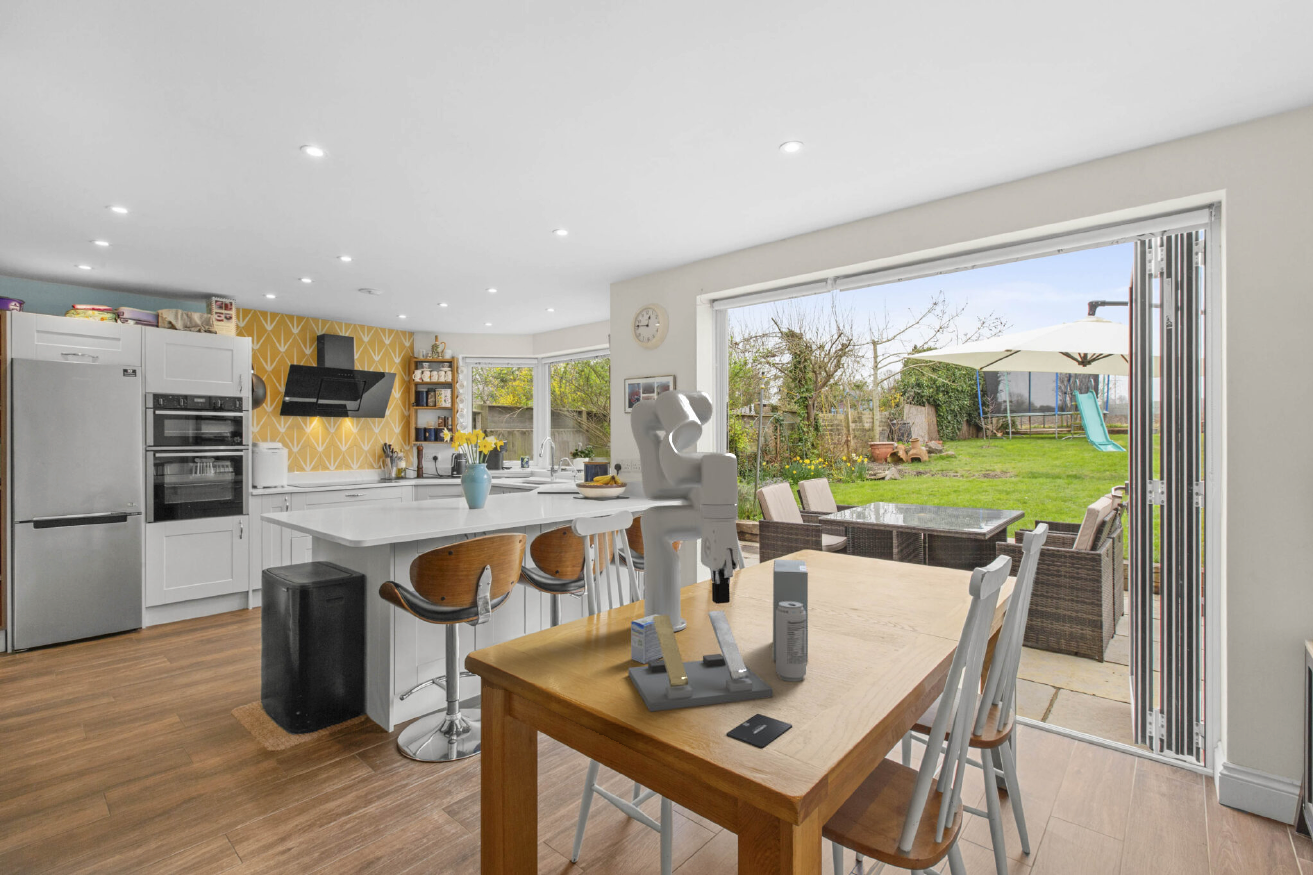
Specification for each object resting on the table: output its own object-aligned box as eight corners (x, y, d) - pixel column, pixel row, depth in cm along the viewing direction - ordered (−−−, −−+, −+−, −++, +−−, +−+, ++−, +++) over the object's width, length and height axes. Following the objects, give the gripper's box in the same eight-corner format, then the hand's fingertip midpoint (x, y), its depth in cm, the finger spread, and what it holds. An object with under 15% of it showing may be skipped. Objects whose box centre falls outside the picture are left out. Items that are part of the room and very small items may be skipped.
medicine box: (655, 651, 142) (655, 613, 142) (669, 655, 139) (669, 617, 139) (630, 659, 137) (630, 620, 137) (644, 664, 133) (644, 624, 134)
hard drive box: (808, 664, 133) (808, 572, 133) (772, 662, 134) (772, 571, 135) (805, 641, 148) (805, 559, 148) (773, 640, 150) (773, 558, 150)
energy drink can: (795, 669, 130) (795, 598, 130) (812, 680, 124) (811, 605, 124) (770, 673, 128) (770, 601, 128) (786, 684, 122) (786, 608, 122)
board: (628, 675, 127) (628, 661, 127) (736, 663, 134) (736, 650, 134) (650, 711, 110) (650, 695, 110) (772, 696, 116) (772, 681, 116)
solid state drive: (725, 737, 101) (725, 733, 101) (757, 716, 109) (757, 713, 109) (762, 751, 96) (762, 746, 96) (793, 728, 104) (793, 724, 104)
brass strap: (687, 687, 114) (688, 681, 113) (670, 688, 113) (672, 683, 112) (667, 618, 126) (668, 613, 125) (652, 620, 125) (653, 614, 125)
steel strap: (747, 680, 117) (749, 675, 116) (731, 682, 116) (733, 676, 115) (722, 614, 129) (723, 609, 129) (708, 615, 129) (709, 610, 128)
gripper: (690, 510, 133) (692, 595, 132) (715, 516, 118) (716, 612, 118) (723, 509, 135) (724, 593, 134) (751, 515, 120) (752, 609, 120)
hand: (720, 602), depth 126 cm, fingers closed
